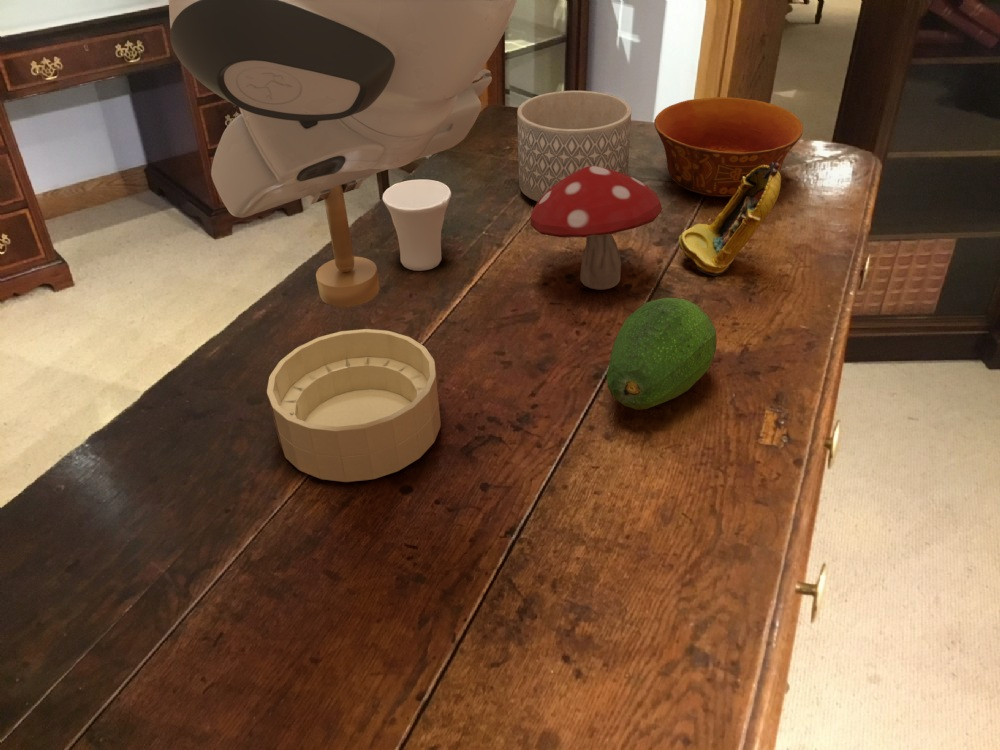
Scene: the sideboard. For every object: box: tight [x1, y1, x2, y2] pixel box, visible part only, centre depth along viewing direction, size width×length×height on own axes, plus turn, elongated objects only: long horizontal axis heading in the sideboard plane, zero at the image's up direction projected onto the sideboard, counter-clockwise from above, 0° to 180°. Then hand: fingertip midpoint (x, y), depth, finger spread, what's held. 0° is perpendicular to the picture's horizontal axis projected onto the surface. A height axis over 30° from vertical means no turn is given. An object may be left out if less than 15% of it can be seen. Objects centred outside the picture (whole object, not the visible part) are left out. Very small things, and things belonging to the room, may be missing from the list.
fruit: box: [606, 297, 717, 410], centre depth 87 cm, size 15×10×10 cm, turn 142°
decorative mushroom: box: [530, 166, 663, 291], centre depth 105 cm, size 16×16×15 cm
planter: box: [516, 90, 632, 203], centre depth 127 cm, size 16×16×13 cm
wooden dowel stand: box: [315, 185, 381, 308], centre depth 69 cm, size 5×5×17 cm
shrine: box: [678, 162, 782, 277], centre depth 107 cm, size 12×8×15 cm
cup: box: [382, 179, 452, 272], centre depth 112 cm, size 9×9×10 cm
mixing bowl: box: [266, 328, 442, 483], centre depth 85 cm, size 16×16×7 cm
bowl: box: [653, 96, 804, 198], centre depth 128 cm, size 21×21×10 cm
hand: (328, 188), depth 69 cm, fingers closed on wooden dowel stand
